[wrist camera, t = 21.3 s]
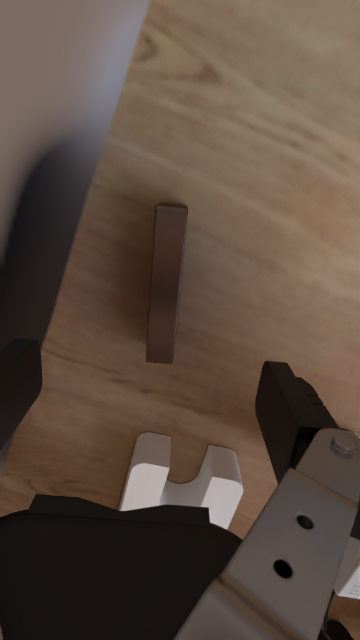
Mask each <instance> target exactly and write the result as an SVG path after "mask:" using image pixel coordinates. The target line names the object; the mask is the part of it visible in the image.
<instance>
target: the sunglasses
mask: <svg viewBox="0 0 360 640" xmlns="http://www.w3.org/2000/svg"><path fill="white" fill-rule="evenodd" d="M334 594H335V590H334V588H333V591H332V594H331V597H330V600H329V603H328V607H327V610H326V613H325V616H324V619H323V622H322V626H321V629H322V630H323V631H324V632H325V633H326V634H327V636H328V637H329V638H330V639H331V640H354V639H353V638H352V637H351V635H350V634H349V632H348V631H347V629H346V628H345V627H344V626H343V625H342V624H341V623H339V622H337V621H334V620H329V621H327V616H328V610H329V606H330V603H331V600H332V598H333V596H334Z"/></svg>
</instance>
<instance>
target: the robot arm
mask: <svg viewBox="0 0 360 640" xmlns="http://www.w3.org/2000/svg"><path fill="white" fill-rule="evenodd" d="M41 387H42V366H41V351H40V344H39V341H38V340H32V339H20V338H14V339H13V340H12V341H10V342H9V343H8V344H7V345H6V346H5V347H4V348H3V349H2V350H1V351H0V451H1V450H2V448H3V447H4V445H5V444H6V442H7V441H8V439H9V438H10V437H11V435H12V434H13V432H14V431H15V429H16V428H17V426H18V425H19V423H20V422H21V421H22V419H23V418H24V416H25V415H26V413H27V412H28V410H29V409H30V407H31V406H32V405H33V403H34V402H35V400H36V399H37V397H38V396H39V394H40V391H41ZM255 410H256V416H257V419H258V422H259V426H260V429H261V432H262V435H263V438H264V441H265V444H266V448H267V451H268V454H269V457H270V460H271V463H272V466H273V470H274V473H275V476H276V479H277V482H278V486H277V487H276V489H275V491H274V492H273V494H272V495H271V497H270V498H269V500H268V502H267V503H266V505H265V506H264V508H263V509H262V511H261V513H260V514H259V516H258V517H257V519H256V520H255V522H254V524H253V525H252V527H251V528H250V530H249V531H248V533H247V535H246V536H245V538H244V539H243V540H242V539H240V538H239V537H238V536H236V535H235V534H233V533H232V532H230V531H228V530H227V529H224V528H222V527H220V526H218V525H216V524H213V523H210V517H209V508H208V507H195V506H182V505H169V504H166V505H159V506H153V507H147V508H140V509H134V510H128V511H118V510H115V509H112V508H109V507H106V506H103V505H100V504H97V503H94V502H91V501H88V500H85V499H82V498H78V497H65V496H52V495H39V494H36V495H35V497H34V499H33V501H32V504H31V506H30V508H29V509H28V510H22V511H18V512H15V513H11V514H8V515H5V516H3V517H0V640H331V639H330V638H329V637H328V636H327V634H326V633H325V632H324V631H323V630H322V629H321V626H322V622H323V619H324V616H325V613H326V610H327V607H328V603H329V600H330V597H331V594H332V591H333V587H334V584H335V581H336V578H337V575H338V571H339V568H340V565H341V562H342V559H343V556H344V552H345V549H346V546H347V543H348V540H349V536H350V537H352V538H355V539H358V540H360V439H359V438H358V437H356V436H355V435H353V434H351V433H349V432H346V431H343V430H340V429H339V427H338V426H337V424H336V423H335V421H334V419H333V418H332V416H331V415H330V413H329V412H328V410H327V409H326V407H325V406H323V402H322V401H321V399H320V398H318V394H317V393H316V391H315V390H314V388H313V387H312V386H311V385H310V384H309V383H307V382H306V381H305V380H304V379H302V378H300V377H295V375H294V373H293V372H292V370H291V368H290V367H289V365H288V363H284V362H273V361H265V362H264V364H263V367H262V372H261V377H260V381H259V386H258V391H257V395H256V402H255Z"/></svg>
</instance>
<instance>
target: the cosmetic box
mask: <svg viewBox="0 0 360 640" xmlns="http://www.w3.org/2000/svg"><path fill="white" fill-rule="evenodd" d="M343 431H345V430H343ZM346 432H349V431H346ZM349 433H351V434H353V435H355V433H353V432H349ZM355 436H356V435H355ZM356 437H357V436H356ZM333 588H334V590H335V593H336V594H337V595H338V596H343V597H350V598H356V599H360V540H358V539H355V538H352V537H350V536H349V540H348V543H347V546H346V549H345V552H344V556H343V559H342V562H341V565H340V568H339V571H338V575H337V578H336V581H335V584H334V587H333Z"/></svg>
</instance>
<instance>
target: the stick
mask: <svg viewBox="0 0 360 640" xmlns="http://www.w3.org/2000/svg"><path fill="white" fill-rule="evenodd" d="M187 214H188V207H187V206H186V205H178V204H168V203H158V204H157V205H156V210H155V226H154V241H153V257H152V272H151V288H150V303H149V319H148V334H147V350H146V362H154V363H166V364H173V357H174V347H175V337H176V326H177V316H178V306H179V296H180V285H181V275H182V265H183V255H184V245H185V234H186V224H187Z"/></svg>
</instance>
